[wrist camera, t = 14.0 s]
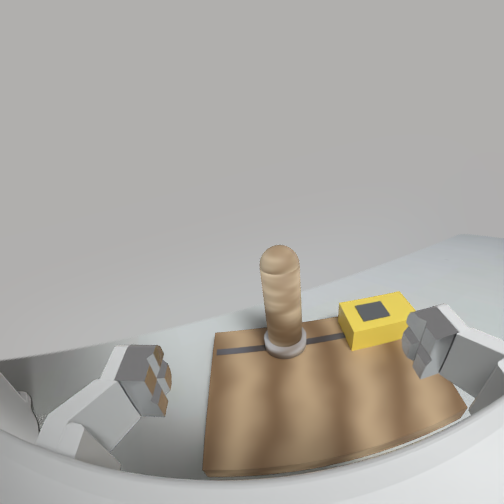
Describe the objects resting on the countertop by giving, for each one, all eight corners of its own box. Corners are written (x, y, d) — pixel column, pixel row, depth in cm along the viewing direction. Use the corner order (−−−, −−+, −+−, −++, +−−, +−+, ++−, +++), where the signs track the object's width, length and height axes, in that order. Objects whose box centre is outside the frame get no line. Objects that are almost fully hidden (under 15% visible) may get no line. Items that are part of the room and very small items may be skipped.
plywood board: (208, 476, 19) (202, 469, 18) (218, 343, 37) (215, 332, 37) (460, 418, 19) (467, 407, 18) (394, 315, 37) (396, 304, 36)
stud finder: (351, 351, 30) (354, 331, 29) (338, 321, 35) (339, 301, 34) (415, 334, 30) (420, 315, 28) (396, 309, 35) (399, 290, 34)
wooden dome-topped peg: (266, 361, 31) (252, 261, 25) (264, 333, 35) (252, 240, 30) (309, 355, 30) (308, 254, 25) (302, 328, 35) (298, 234, 30)
